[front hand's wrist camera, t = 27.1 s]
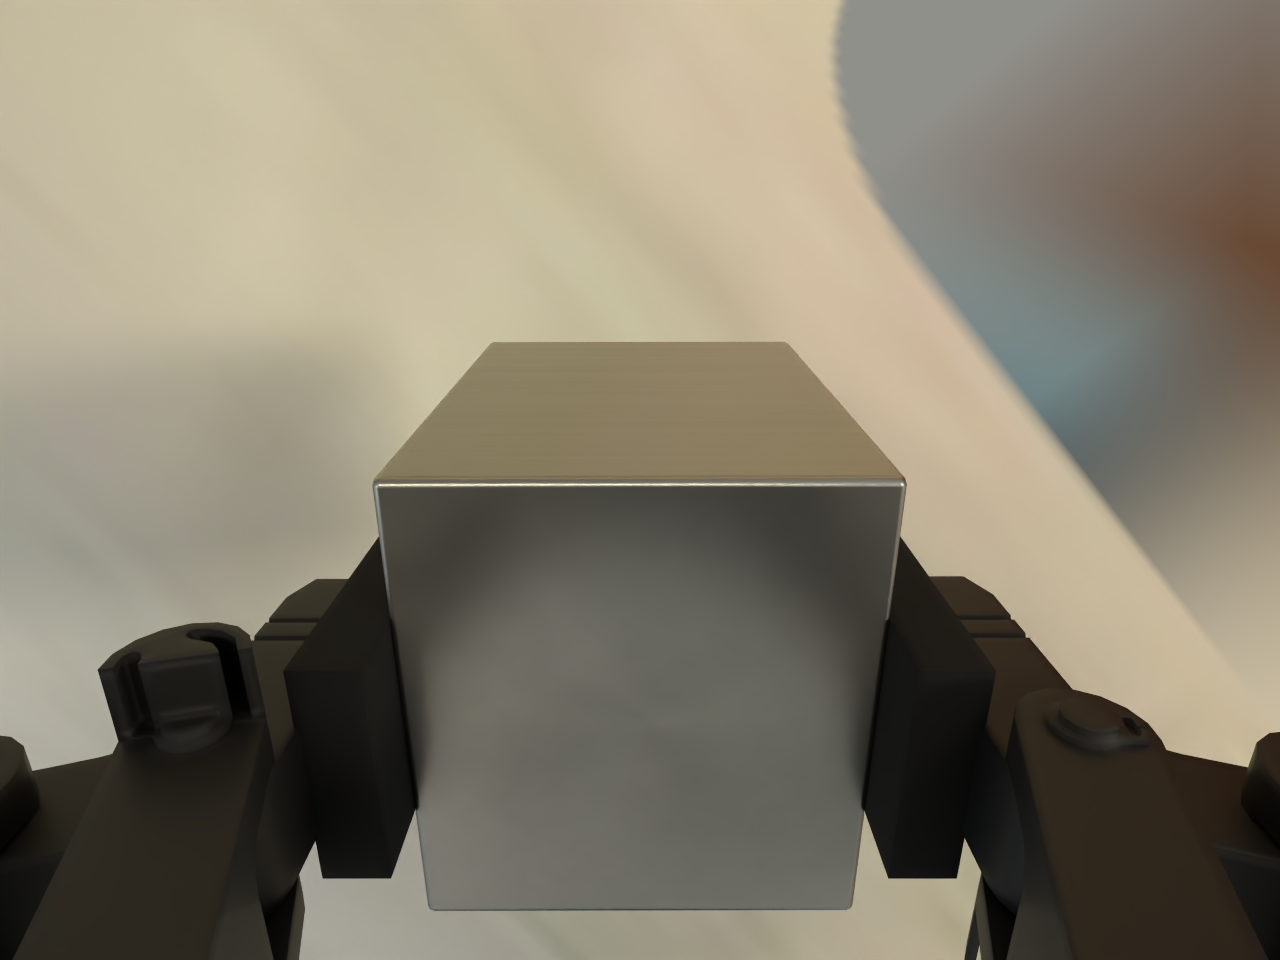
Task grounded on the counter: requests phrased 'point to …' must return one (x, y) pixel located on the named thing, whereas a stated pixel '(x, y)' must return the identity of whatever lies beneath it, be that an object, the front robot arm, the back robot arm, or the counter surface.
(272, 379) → the counter surface
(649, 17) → the counter surface
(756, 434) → the metal block
